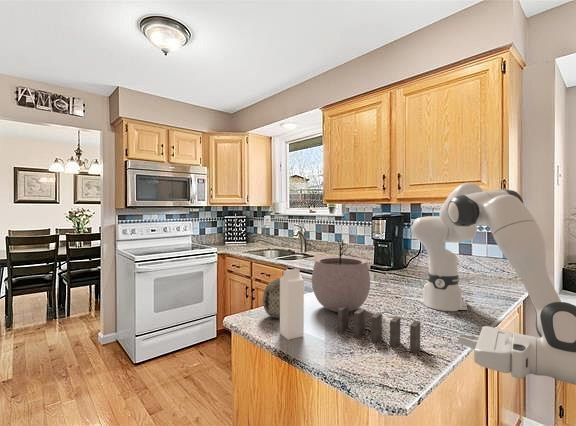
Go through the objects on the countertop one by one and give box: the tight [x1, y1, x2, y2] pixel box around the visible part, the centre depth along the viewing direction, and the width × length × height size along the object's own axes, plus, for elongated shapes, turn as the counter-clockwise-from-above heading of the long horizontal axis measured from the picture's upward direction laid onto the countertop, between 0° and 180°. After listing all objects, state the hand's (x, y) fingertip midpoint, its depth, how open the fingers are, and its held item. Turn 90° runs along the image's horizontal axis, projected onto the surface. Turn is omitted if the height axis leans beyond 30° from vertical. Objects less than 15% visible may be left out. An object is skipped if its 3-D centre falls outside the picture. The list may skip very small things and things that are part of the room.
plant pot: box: [311, 239, 371, 313], centre depth 130 cm, size 24×24×30 cm
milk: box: [279, 268, 305, 341], centre depth 105 cm, size 6×6×22 cm
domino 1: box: [337, 305, 350, 334], centre depth 109 cm, size 5×2×8 cm, turn 143°
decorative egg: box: [262, 278, 280, 319], centre depth 121 cm, size 12×12×15 cm
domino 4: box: [389, 315, 402, 349], centre depth 98 cm, size 5×2×8 cm, turn 143°
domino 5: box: [409, 320, 421, 354], centre depth 94 cm, size 5×2×8 cm, turn 143°
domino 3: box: [370, 312, 383, 344], centre depth 102 cm, size 5×2×8 cm, turn 143°
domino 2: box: [353, 308, 366, 339], centre depth 105 cm, size 5×2×8 cm, turn 143°
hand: (459, 338), depth 87 cm, fingers closed
